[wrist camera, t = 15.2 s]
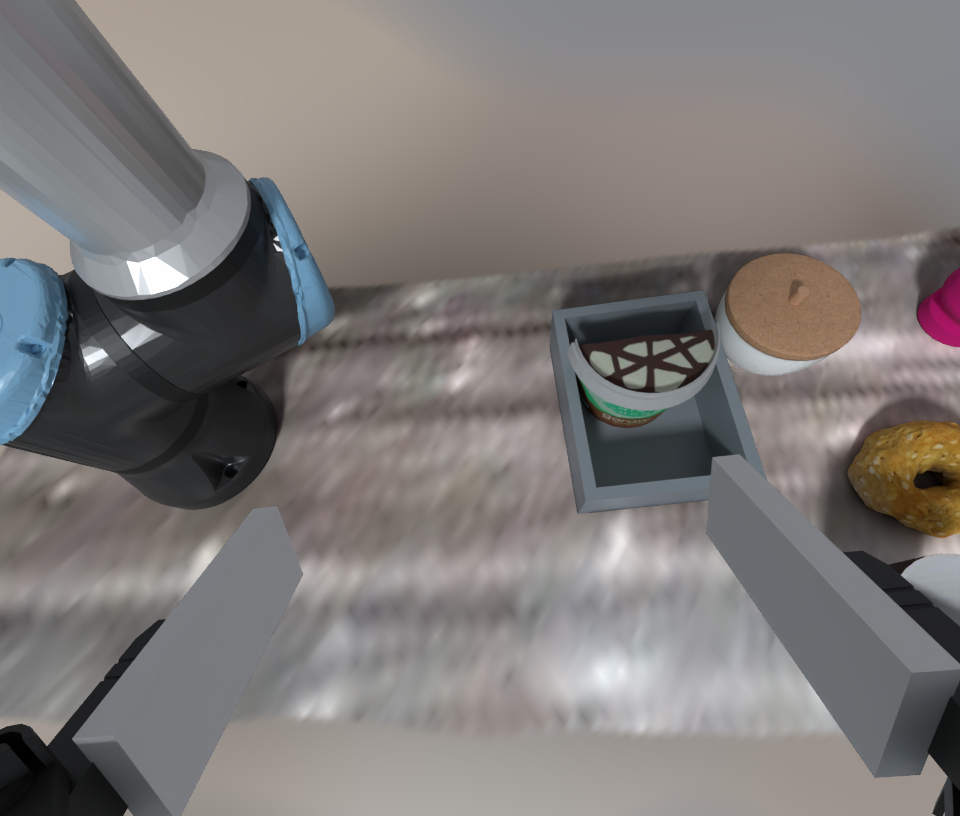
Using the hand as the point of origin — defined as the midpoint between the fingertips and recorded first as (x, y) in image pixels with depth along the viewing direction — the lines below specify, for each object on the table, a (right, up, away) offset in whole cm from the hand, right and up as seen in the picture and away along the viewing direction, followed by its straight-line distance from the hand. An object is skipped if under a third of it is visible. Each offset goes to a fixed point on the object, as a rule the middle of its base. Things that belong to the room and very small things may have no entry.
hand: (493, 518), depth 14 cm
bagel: (+38, -3, +27) cm, 47 cm away
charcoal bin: (+15, +3, +31) cm, 35 cm away
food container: (+14, +3, +31) cm, 34 cm away
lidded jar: (+28, +10, +33) cm, 44 cm away
